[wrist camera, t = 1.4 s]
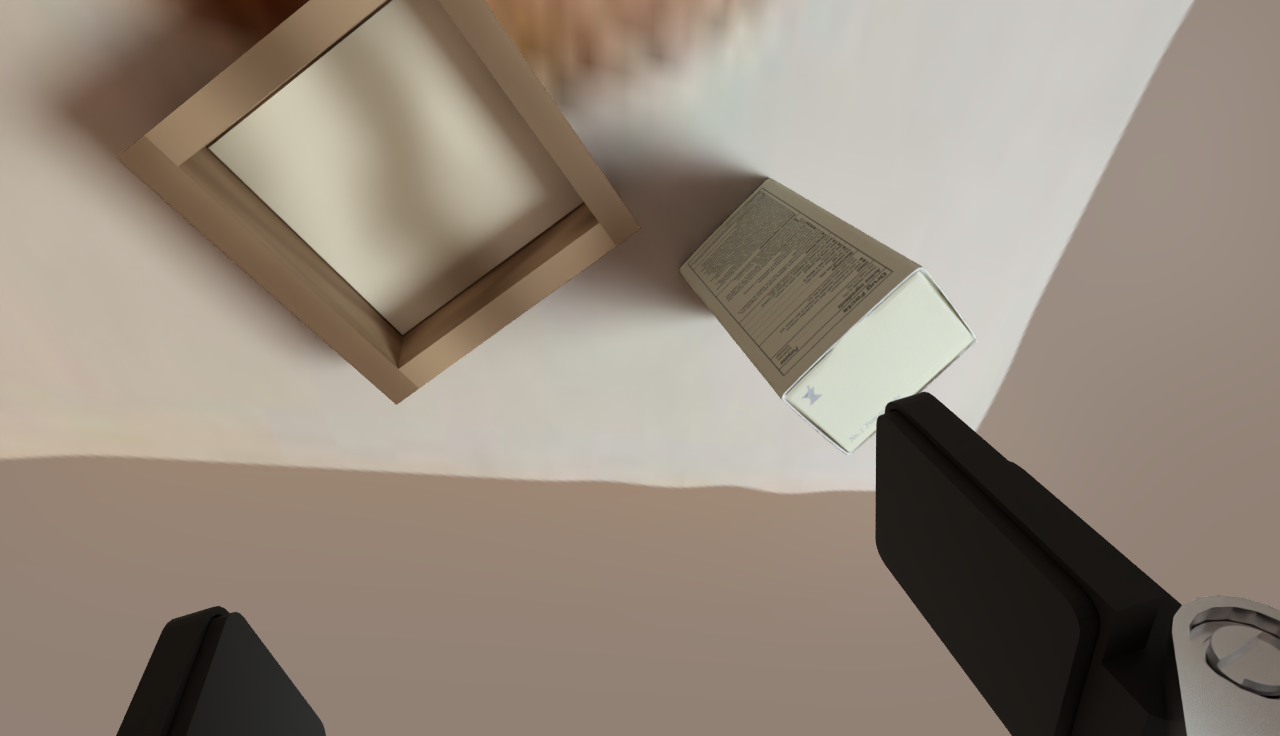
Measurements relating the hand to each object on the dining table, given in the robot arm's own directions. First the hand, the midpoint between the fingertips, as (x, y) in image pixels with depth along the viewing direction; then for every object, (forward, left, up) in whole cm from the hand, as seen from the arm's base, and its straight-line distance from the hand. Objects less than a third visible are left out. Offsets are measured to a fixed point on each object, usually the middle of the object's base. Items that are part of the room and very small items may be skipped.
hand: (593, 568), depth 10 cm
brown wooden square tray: (+3, -2, -22) cm, 23 cm away
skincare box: (-7, +10, -23) cm, 26 cm away
